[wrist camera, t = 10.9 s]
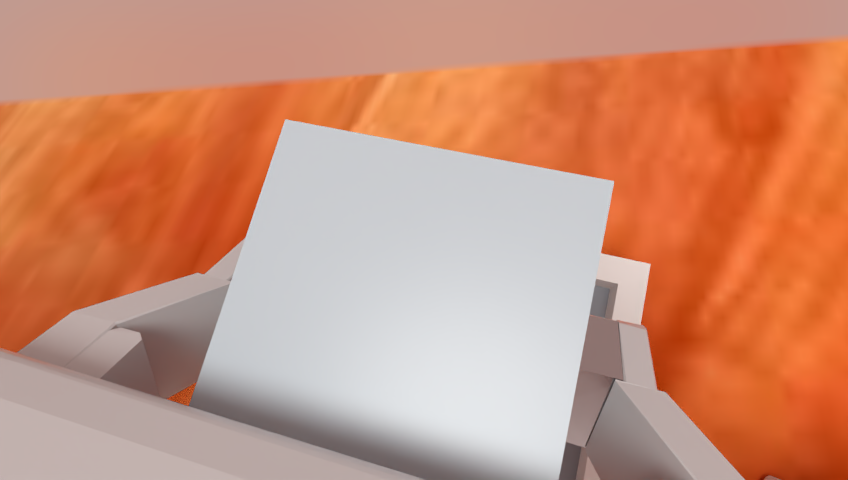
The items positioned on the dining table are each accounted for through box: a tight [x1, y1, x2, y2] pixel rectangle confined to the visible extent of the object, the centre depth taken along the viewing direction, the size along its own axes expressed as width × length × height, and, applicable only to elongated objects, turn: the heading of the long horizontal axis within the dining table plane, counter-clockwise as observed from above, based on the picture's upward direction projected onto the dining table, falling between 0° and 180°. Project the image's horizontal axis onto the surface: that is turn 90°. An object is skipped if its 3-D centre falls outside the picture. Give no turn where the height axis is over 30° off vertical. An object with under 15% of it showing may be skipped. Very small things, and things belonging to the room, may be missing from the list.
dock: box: [559, 253, 650, 480], centre depth 24 cm, size 14×12×4 cm
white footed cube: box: [189, 119, 614, 480], centre depth 11 cm, size 5×6×8 cm
